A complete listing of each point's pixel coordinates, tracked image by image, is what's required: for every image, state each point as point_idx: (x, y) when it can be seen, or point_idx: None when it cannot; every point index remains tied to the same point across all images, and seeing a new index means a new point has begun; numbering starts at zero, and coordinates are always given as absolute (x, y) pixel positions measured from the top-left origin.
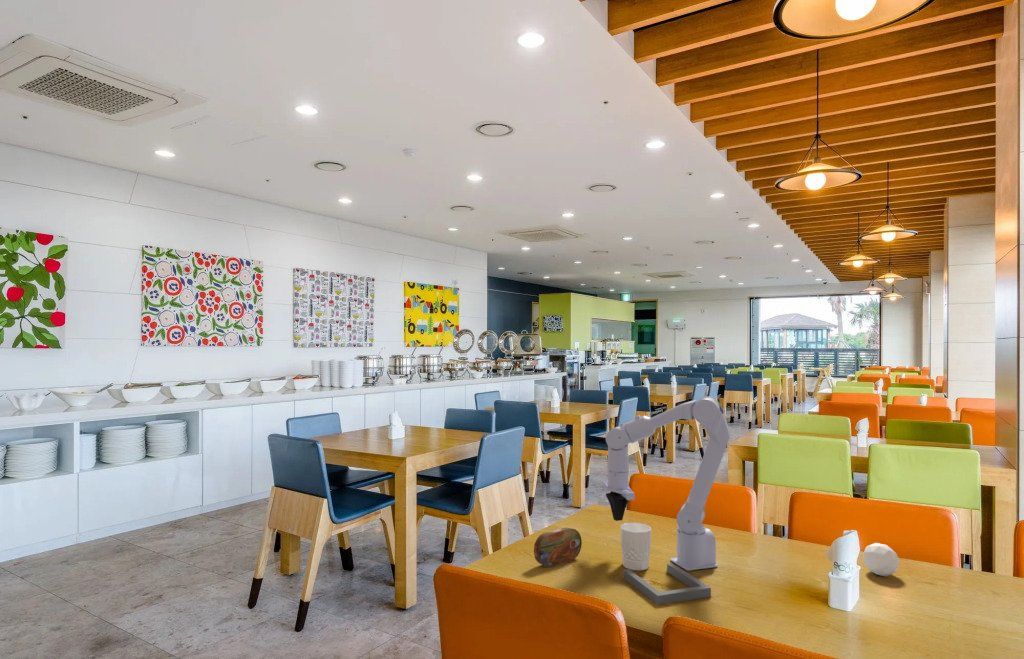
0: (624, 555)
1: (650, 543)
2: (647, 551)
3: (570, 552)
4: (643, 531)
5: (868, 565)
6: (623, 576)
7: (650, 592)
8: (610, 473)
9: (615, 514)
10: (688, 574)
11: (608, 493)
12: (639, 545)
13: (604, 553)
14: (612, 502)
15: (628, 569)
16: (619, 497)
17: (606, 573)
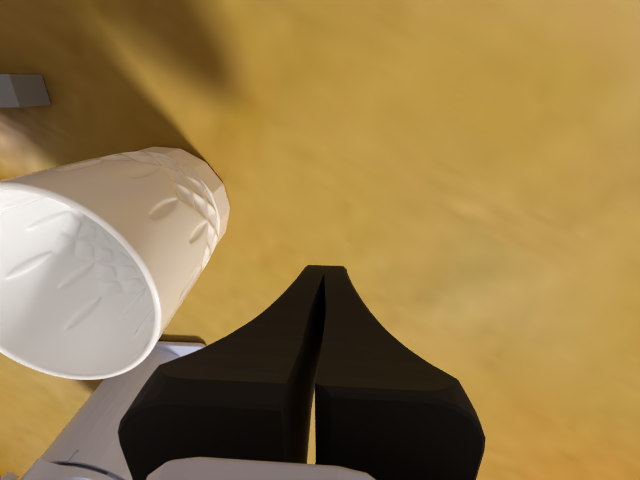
0: (126, 153)
1: (81, 302)
2: (76, 259)
3: None
4: (139, 335)
5: None
6: (34, 74)
7: None
8: None
9: (289, 287)
10: None
11: (456, 452)
12: (22, 227)
13: (351, 140)
14: (277, 345)
15: (11, 102)
16: (138, 469)
17: (96, 14)
